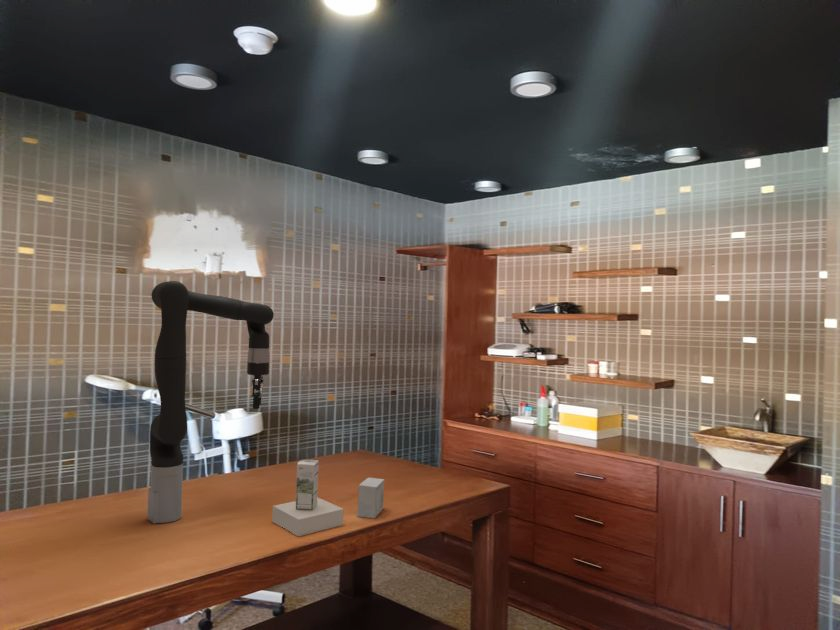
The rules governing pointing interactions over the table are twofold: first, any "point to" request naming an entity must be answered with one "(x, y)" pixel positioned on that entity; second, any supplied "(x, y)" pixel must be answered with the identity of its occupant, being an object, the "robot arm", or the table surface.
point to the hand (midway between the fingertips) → (257, 406)
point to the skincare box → (370, 497)
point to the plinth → (307, 517)
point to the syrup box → (307, 484)
